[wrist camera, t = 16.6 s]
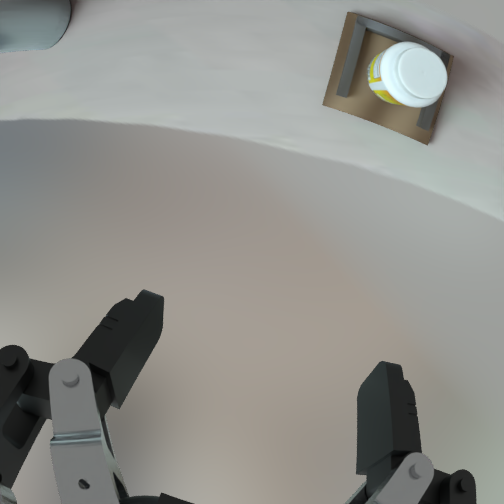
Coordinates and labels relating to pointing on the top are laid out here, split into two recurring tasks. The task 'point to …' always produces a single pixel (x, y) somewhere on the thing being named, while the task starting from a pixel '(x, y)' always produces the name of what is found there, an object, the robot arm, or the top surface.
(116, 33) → the top surface
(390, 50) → the supplement bottle
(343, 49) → the notched cradle board
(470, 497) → the robot arm
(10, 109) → the top surface
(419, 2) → the top surface
